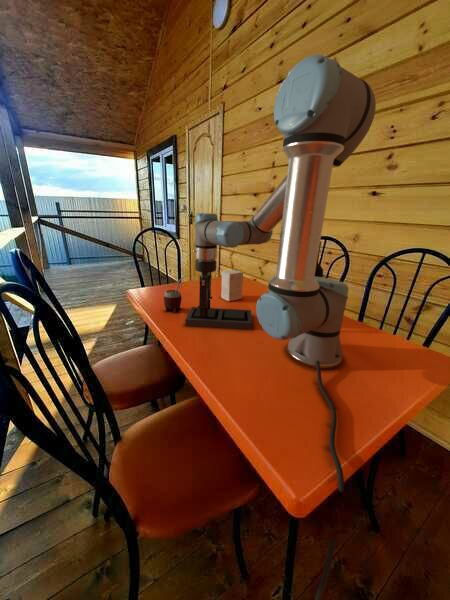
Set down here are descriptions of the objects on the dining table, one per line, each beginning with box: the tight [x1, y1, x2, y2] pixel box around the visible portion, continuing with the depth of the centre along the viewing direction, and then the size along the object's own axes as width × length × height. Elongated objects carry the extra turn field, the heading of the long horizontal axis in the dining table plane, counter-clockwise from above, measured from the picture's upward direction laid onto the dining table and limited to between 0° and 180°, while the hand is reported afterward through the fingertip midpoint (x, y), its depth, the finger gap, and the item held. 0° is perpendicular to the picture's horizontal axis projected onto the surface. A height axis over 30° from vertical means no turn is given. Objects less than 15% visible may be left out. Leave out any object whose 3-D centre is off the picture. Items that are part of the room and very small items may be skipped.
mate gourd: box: [163, 275, 187, 314], centre depth 102 cm, size 8×8×15 cm
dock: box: [185, 306, 253, 331], centre depth 96 cm, size 13×24×2 cm, turn 87°
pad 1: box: [194, 308, 217, 320], centre depth 96 cm, size 8×8×3 cm
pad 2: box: [223, 310, 246, 321], centre depth 96 cm, size 8×8×3 cm
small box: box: [220, 269, 244, 302], centre depth 120 cm, size 8×6×13 cm
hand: (205, 319), depth 97 cm, fingers closed on pad 1, 7 cm apart
